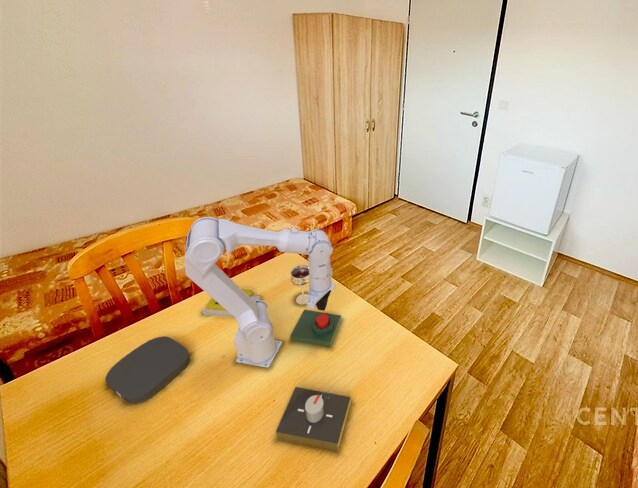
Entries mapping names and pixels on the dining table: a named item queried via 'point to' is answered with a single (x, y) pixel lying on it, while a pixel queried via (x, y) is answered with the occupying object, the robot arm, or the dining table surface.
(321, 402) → the dial knob
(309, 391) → the control panel
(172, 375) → the media streaming box
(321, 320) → the button
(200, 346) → the dining table surface
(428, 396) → the dining table surface
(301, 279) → the wineglass
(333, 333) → the button housing
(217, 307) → the emergency button
